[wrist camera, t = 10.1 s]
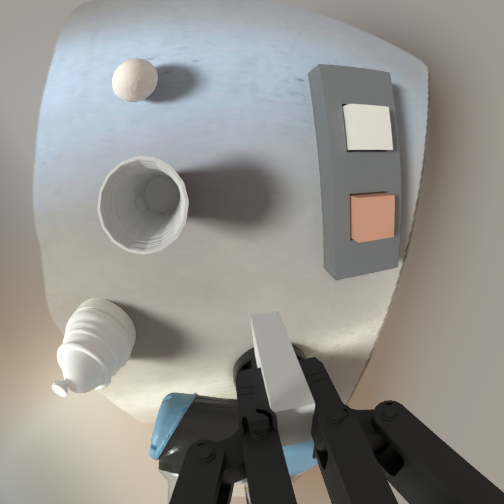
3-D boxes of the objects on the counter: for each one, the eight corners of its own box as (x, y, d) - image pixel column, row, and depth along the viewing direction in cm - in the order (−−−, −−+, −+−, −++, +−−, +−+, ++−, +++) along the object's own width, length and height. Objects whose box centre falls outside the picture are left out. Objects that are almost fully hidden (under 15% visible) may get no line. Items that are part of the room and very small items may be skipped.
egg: (138, 114, 34) (120, 105, 26) (115, 88, 32) (94, 76, 24) (170, 85, 33) (160, 69, 26) (146, 60, 31) (131, 41, 24)
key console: (383, 257, 46) (397, 267, 42) (324, 267, 45) (335, 280, 41) (373, 78, 35) (389, 72, 31) (308, 73, 35) (318, 64, 30)
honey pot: (78, 343, 45) (43, 404, 28) (75, 290, 42) (26, 348, 25) (134, 360, 48) (113, 431, 31) (138, 308, 44) (108, 381, 27)
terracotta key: (380, 230, 41) (393, 237, 37) (346, 235, 41) (358, 242, 37) (380, 191, 39) (394, 195, 35) (345, 194, 38) (357, 198, 35)
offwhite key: (378, 149, 37) (393, 150, 33) (342, 149, 36) (355, 149, 32) (374, 109, 35) (388, 106, 31) (338, 107, 34) (350, 103, 30)
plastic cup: (178, 143, 36) (162, 137, 25) (209, 208, 40) (206, 228, 29) (116, 178, 37) (80, 187, 25) (147, 239, 40) (123, 269, 29)
